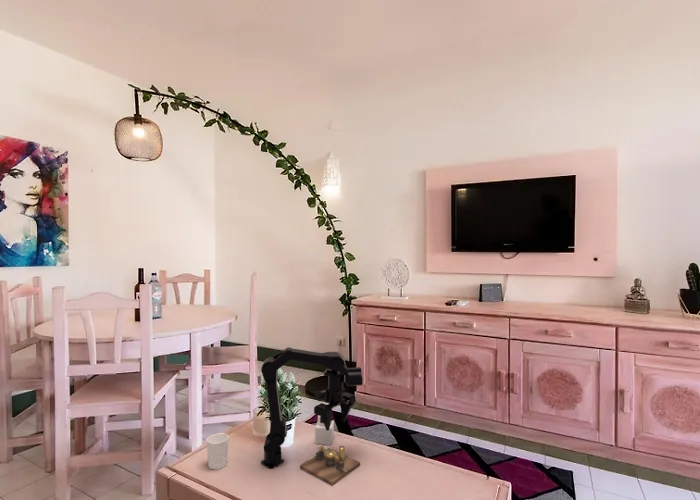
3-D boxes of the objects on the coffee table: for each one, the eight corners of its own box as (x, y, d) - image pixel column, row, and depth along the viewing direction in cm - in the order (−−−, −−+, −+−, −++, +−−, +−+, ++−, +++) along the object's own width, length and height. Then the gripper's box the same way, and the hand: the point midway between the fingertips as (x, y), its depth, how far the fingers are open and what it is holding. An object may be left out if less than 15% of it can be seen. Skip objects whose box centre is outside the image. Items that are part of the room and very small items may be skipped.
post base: (300, 468, 140) (300, 458, 140) (328, 450, 153) (329, 441, 153) (332, 485, 130) (332, 474, 130) (360, 465, 143) (360, 455, 143)
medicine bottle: (334, 436, 164) (334, 409, 164) (331, 445, 157) (331, 416, 157) (318, 435, 165) (318, 408, 165) (314, 444, 158) (315, 415, 158)
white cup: (211, 473, 137) (211, 445, 137) (203, 463, 143) (203, 437, 143) (232, 465, 142) (232, 438, 142) (223, 456, 148) (223, 431, 148)
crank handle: (339, 467, 134) (339, 451, 134) (315, 451, 145) (315, 436, 145) (348, 462, 137) (348, 446, 137) (324, 447, 148) (324, 432, 148)
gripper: (335, 375, 159) (335, 412, 159) (303, 387, 144) (303, 428, 144) (356, 381, 152) (356, 419, 152) (325, 395, 137) (324, 437, 137)
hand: (335, 426), depth 146 cm, fingers open, 9 cm apart
